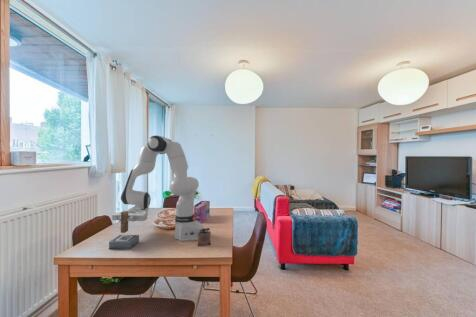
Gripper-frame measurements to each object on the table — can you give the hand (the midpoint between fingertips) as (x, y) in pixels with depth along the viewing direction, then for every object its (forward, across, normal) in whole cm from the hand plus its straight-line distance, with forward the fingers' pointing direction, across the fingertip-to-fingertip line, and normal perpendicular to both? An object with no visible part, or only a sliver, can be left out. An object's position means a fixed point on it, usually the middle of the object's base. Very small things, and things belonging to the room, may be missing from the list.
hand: (123, 220), depth 137 cm
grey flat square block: (-1, 0, +15) cm, 15 cm away
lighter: (-2, +47, +15) cm, 50 cm away
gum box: (-58, +38, +15) cm, 71 cm away
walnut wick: (-1, 0, +7) cm, 7 cm away
